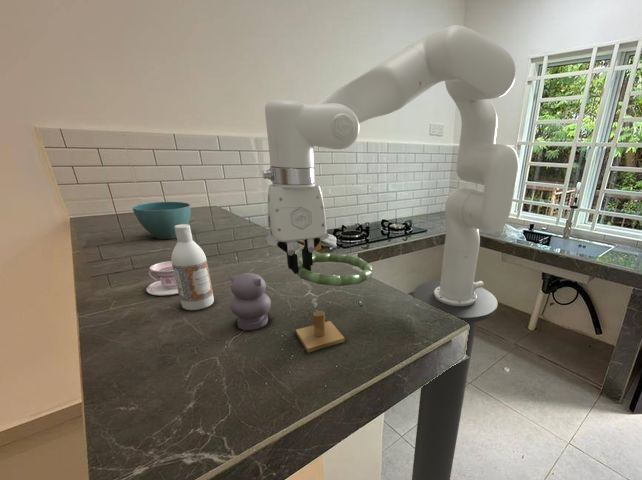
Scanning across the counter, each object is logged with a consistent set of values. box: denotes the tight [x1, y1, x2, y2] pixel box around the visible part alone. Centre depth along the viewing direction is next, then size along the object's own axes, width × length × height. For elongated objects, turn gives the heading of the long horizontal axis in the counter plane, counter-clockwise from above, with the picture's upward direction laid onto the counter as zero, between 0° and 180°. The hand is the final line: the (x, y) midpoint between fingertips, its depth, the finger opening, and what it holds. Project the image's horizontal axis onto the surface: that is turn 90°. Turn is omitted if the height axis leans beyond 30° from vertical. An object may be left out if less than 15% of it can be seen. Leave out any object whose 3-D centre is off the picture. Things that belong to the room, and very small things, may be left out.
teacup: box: [145, 260, 179, 297], centre depth 87 cm, size 12×12×6 cm
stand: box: [295, 310, 346, 354], centre depth 69 cm, size 8×8×6 cm
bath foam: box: [170, 224, 215, 311], centre depth 76 cm, size 7×7×20 cm
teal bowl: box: [132, 201, 192, 240], centre depth 127 cm, size 18×18×12 cm
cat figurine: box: [227, 272, 272, 331], centre depth 72 cm, size 8×8×12 cm
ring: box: [296, 252, 373, 287], centre depth 70 cm, size 17×17×2 cm
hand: (300, 269), depth 66 cm, fingers closed on ring, 2 cm apart
